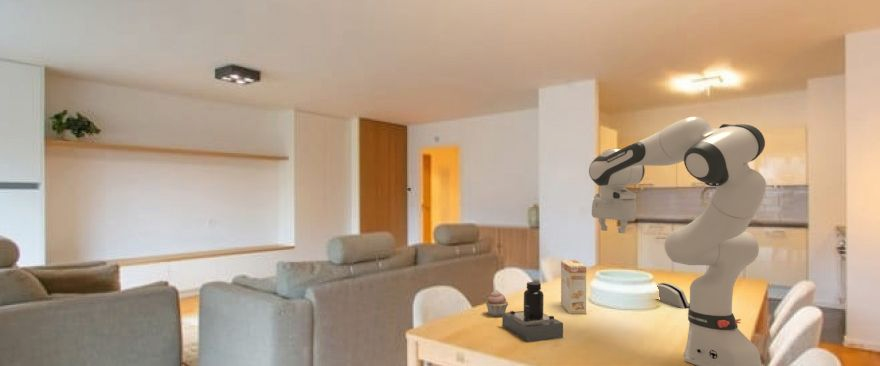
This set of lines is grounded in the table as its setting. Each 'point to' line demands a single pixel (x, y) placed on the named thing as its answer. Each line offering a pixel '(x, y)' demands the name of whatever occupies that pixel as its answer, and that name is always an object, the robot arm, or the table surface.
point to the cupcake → (496, 304)
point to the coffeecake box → (573, 286)
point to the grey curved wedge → (672, 295)
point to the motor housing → (532, 326)
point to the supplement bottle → (533, 301)
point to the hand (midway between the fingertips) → (612, 231)
